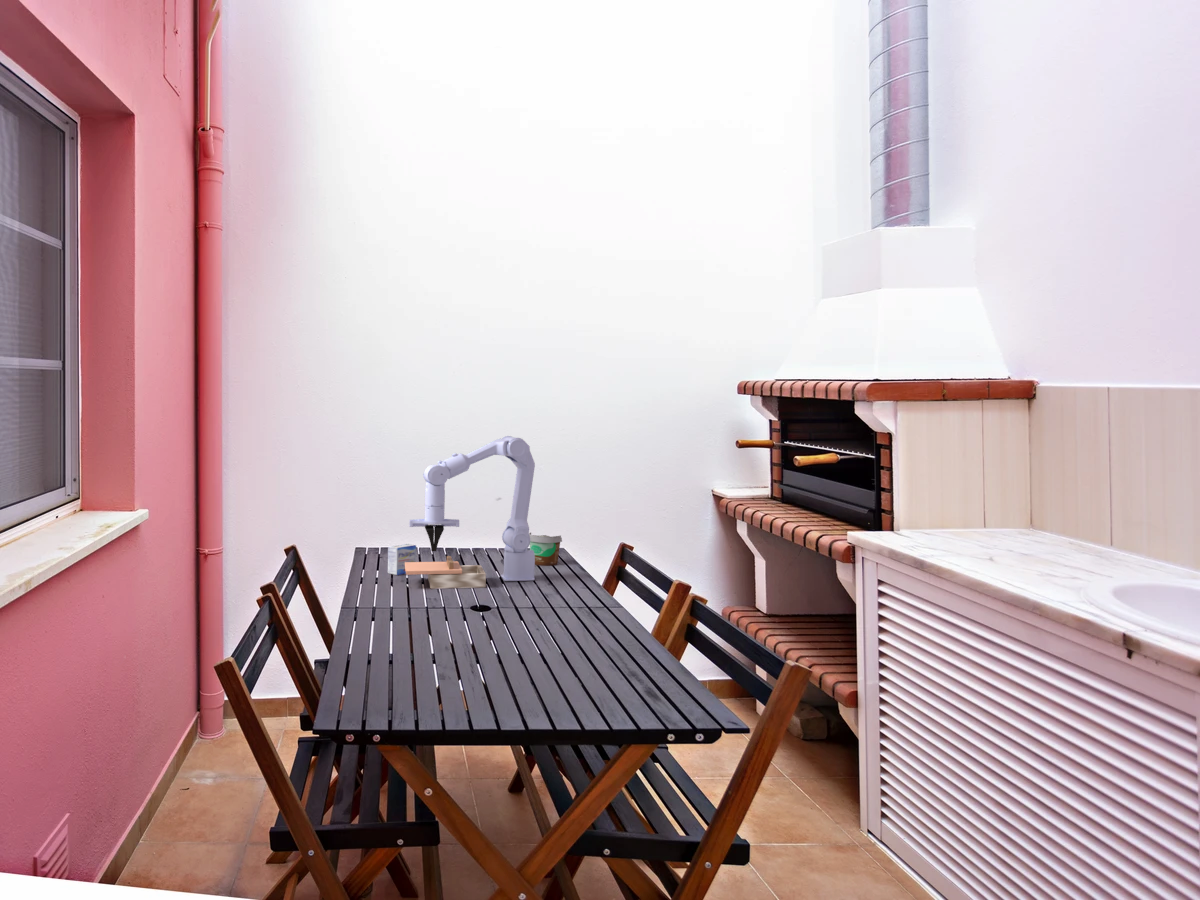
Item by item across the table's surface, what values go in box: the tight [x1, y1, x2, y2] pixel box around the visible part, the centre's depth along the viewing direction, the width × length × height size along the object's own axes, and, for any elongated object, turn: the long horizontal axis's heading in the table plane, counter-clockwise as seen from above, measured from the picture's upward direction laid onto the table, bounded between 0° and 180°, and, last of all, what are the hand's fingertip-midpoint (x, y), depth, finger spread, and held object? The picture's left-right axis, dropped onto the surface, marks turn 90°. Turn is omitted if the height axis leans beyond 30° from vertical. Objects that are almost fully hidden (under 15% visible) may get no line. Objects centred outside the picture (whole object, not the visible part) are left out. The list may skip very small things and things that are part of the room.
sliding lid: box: [405, 555, 462, 576], centre depth 262 cm, size 16×13×3 cm
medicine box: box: [387, 543, 417, 576], centre depth 275 cm, size 8×4×9 cm, turn 143°
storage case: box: [427, 564, 487, 590], centre depth 263 cm, size 16×13×4 cm
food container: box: [529, 531, 563, 567], centre depth 296 cm, size 12×6×10 cm, turn 68°
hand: (433, 550), depth 261 cm, fingers closed
